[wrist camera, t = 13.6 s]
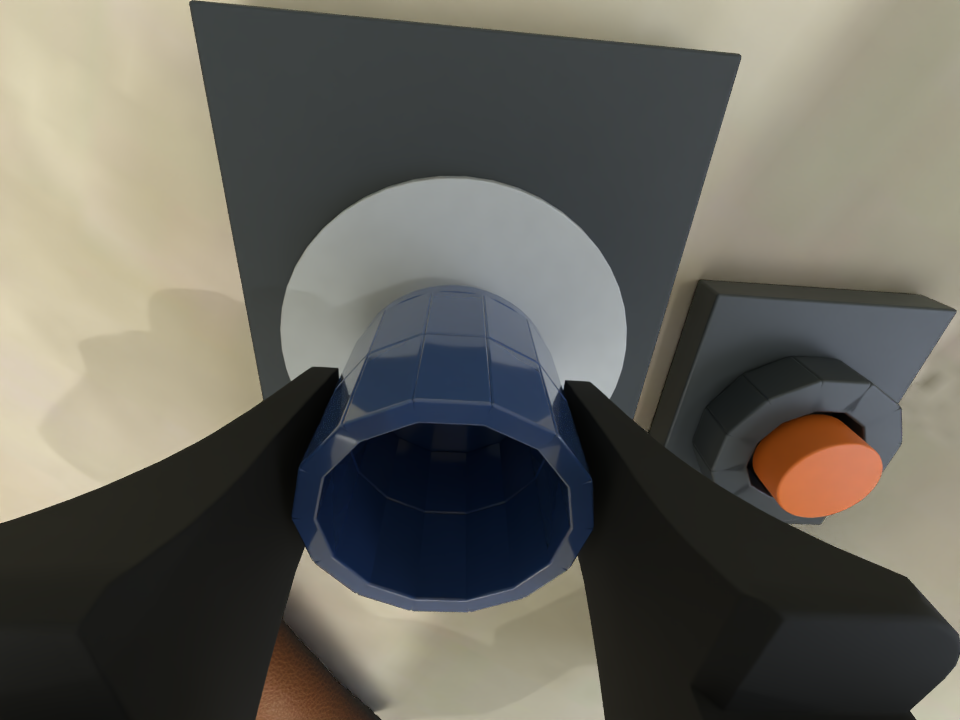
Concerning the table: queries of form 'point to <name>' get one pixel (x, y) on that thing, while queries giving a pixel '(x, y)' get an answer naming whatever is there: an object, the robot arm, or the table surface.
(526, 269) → the scale
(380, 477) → the blue cup
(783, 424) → the button
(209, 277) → the table surface
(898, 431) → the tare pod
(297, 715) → the sunglasses case
